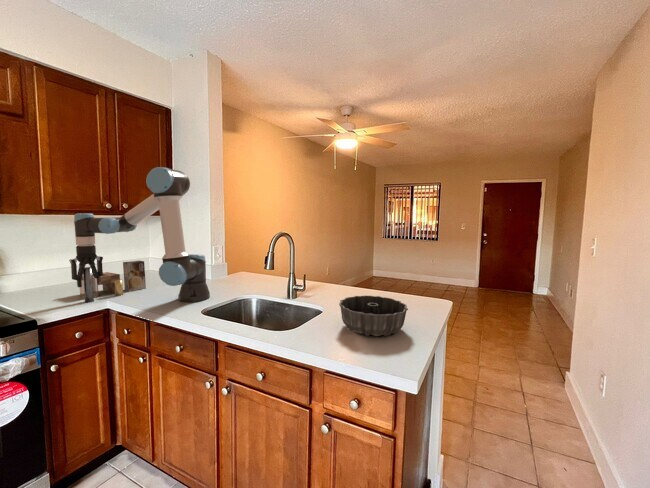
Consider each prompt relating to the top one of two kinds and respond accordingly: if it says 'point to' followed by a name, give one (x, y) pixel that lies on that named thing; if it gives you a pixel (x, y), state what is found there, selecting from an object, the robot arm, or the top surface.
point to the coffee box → (134, 275)
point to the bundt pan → (373, 314)
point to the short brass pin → (118, 287)
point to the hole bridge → (106, 282)
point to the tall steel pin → (88, 284)
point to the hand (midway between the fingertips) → (88, 292)
